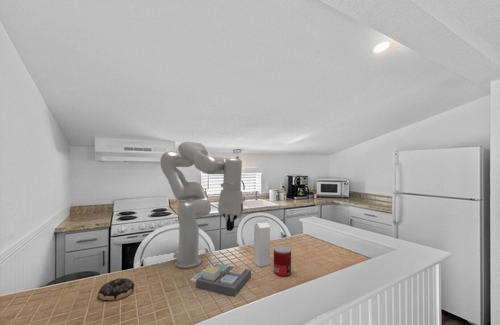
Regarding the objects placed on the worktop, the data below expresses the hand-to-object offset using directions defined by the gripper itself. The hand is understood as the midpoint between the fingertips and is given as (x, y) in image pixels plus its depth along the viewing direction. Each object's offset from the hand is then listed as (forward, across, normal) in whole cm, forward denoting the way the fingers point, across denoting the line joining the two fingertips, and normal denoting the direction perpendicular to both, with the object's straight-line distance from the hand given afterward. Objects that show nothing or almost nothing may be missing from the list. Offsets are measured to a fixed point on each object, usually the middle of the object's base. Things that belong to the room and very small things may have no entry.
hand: (229, 229), depth 97 cm
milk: (+22, +8, +22) cm, 32 cm away
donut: (+23, -33, -26) cm, 48 cm away
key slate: (+21, +4, -6) cm, 22 cm away
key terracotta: (+21, +4, +2) cm, 21 cm away
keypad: (+22, 0, -2) cm, 22 cm away
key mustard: (+19, -4, -6) cm, 20 cm away
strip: (+22, -12, -2) cm, 25 cm away
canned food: (+21, +20, +16) cm, 33 cm away
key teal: (+21, -4, +2) cm, 22 cm away
